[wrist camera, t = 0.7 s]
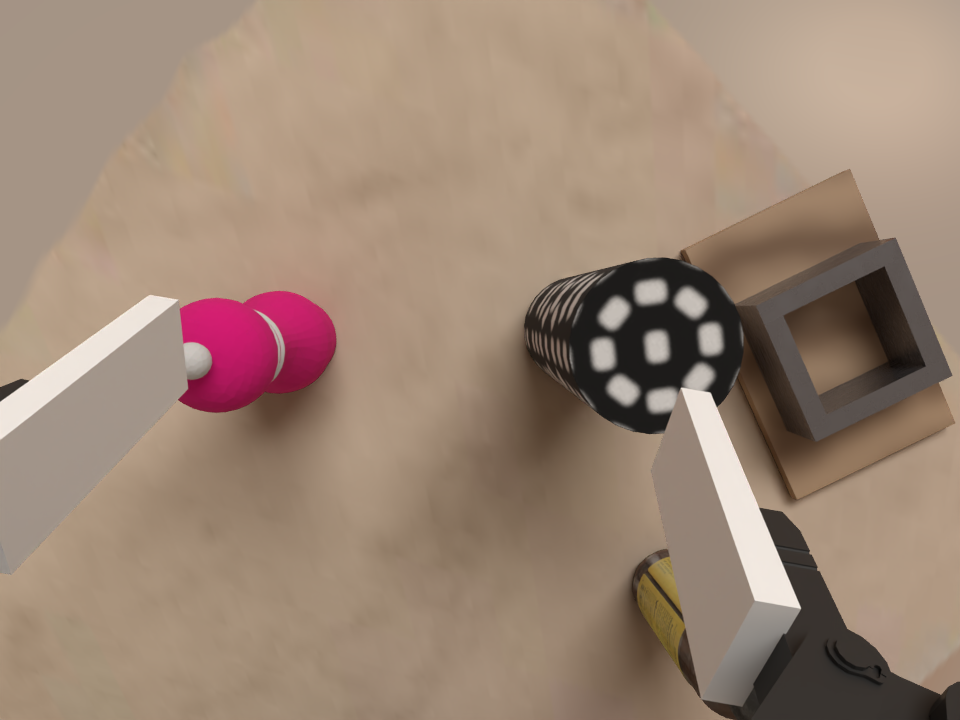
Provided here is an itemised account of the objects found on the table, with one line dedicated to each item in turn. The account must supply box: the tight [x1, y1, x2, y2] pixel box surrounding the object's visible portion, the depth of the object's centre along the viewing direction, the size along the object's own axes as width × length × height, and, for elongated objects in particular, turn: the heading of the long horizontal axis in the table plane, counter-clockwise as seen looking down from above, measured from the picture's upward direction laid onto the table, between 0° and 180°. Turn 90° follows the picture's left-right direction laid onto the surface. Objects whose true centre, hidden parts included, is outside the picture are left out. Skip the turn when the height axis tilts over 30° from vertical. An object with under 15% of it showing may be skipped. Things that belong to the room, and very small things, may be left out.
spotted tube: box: [524, 258, 744, 434], centre depth 39 cm, size 8×8×20 cm
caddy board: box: [681, 169, 955, 500], centre depth 49 cm, size 22×14×1 cm, turn 26°
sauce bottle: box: [633, 549, 760, 720], centre depth 41 cm, size 6×6×20 cm
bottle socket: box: [735, 238, 952, 442], centre depth 47 cm, size 11×11×4 cm
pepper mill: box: [178, 291, 336, 413], centre depth 39 cm, size 7×7×20 cm
